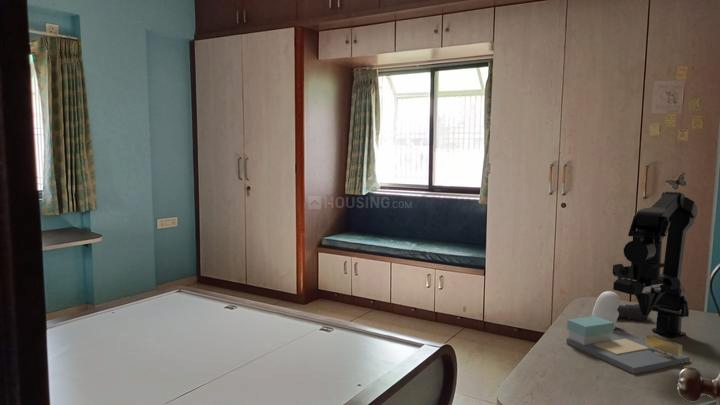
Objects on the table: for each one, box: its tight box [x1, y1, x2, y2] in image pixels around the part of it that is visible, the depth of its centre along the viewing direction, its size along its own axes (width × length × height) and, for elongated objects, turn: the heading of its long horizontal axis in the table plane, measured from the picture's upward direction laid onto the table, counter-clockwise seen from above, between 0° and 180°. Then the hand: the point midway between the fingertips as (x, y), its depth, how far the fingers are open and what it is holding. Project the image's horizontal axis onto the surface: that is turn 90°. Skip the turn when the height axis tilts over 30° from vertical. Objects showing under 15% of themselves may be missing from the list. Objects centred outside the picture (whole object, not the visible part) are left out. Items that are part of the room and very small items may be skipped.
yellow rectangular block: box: [646, 333, 683, 357], centre depth 133 cm, size 2×9×4 cm, turn 22°
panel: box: [565, 329, 690, 375], centre depth 138 cm, size 20×22×4 cm
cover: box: [566, 315, 615, 337], centre depth 143 cm, size 10×7×3 cm, turn 112°
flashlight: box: [617, 303, 650, 322], centre depth 166 cm, size 15×5×5 cm, turn 78°
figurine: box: [591, 290, 621, 330], centre depth 157 cm, size 7×8×12 cm
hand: (645, 315), depth 135 cm, fingers closed
